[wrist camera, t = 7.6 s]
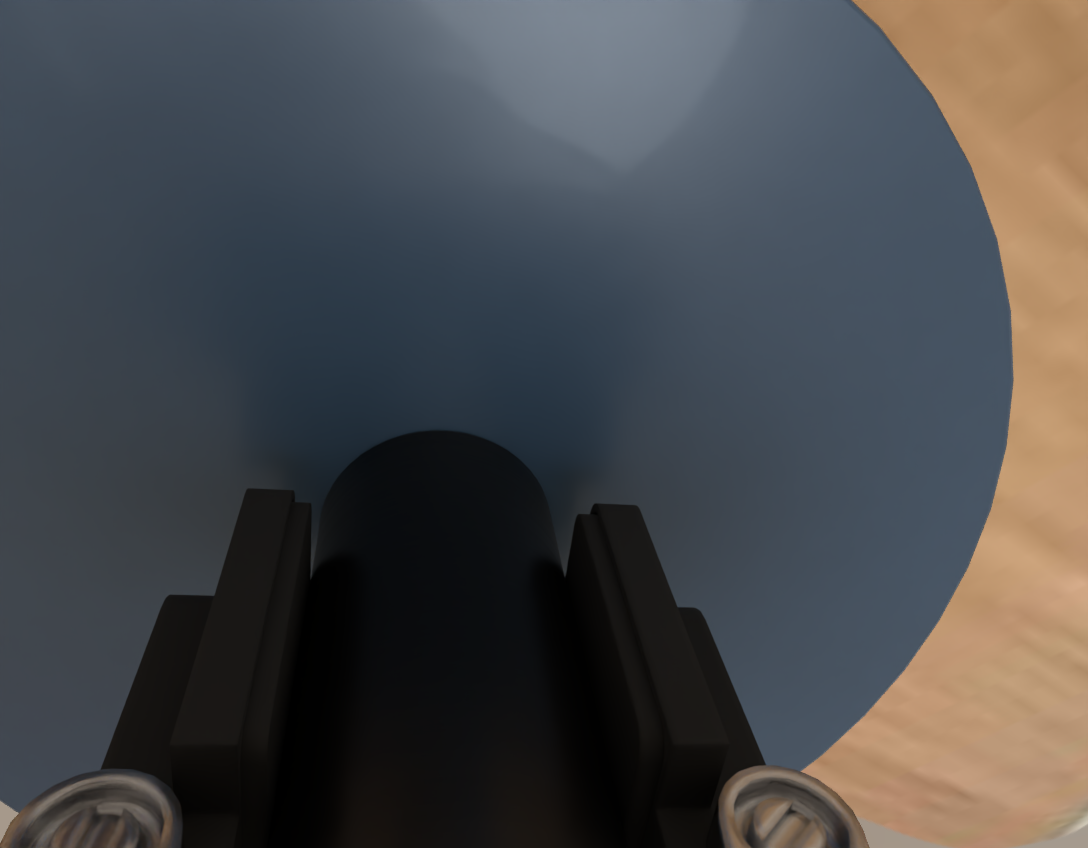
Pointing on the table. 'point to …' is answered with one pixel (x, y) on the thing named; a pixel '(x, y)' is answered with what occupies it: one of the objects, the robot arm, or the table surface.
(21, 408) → the lid
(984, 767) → the table surface
